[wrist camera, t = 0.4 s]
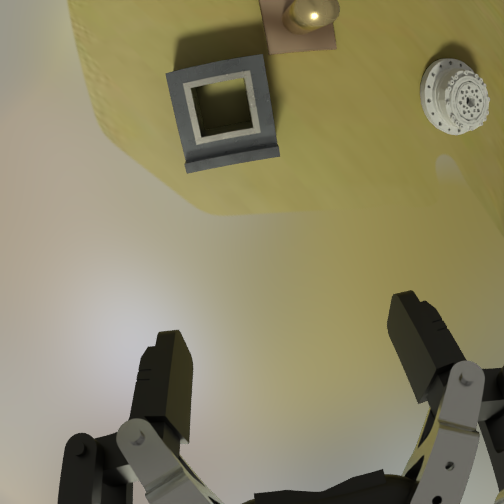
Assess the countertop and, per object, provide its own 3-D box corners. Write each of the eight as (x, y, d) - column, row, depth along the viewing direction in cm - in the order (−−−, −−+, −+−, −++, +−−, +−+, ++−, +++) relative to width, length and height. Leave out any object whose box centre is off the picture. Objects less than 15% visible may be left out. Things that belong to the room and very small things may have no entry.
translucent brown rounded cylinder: (279, 6, 24) (293, -12, 18) (312, 4, 24) (335, -12, 17) (284, 36, 26) (301, 26, 19) (317, 33, 26) (342, 24, 19)
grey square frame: (173, 73, 28) (163, 73, 24) (259, 56, 28) (263, 53, 24) (192, 159, 34) (186, 173, 30) (273, 144, 33) (280, 156, 29)
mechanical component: (485, 92, 30) (440, 42, 27) (507, 98, 26) (461, 43, 23) (454, 146, 34) (405, 101, 31) (474, 156, 30) (424, 107, 27)
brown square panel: (257, -5, 24) (258, -7, 23) (323, -9, 24) (326, -11, 23) (268, 54, 28) (269, 54, 27) (333, 49, 28) (336, 49, 27)
